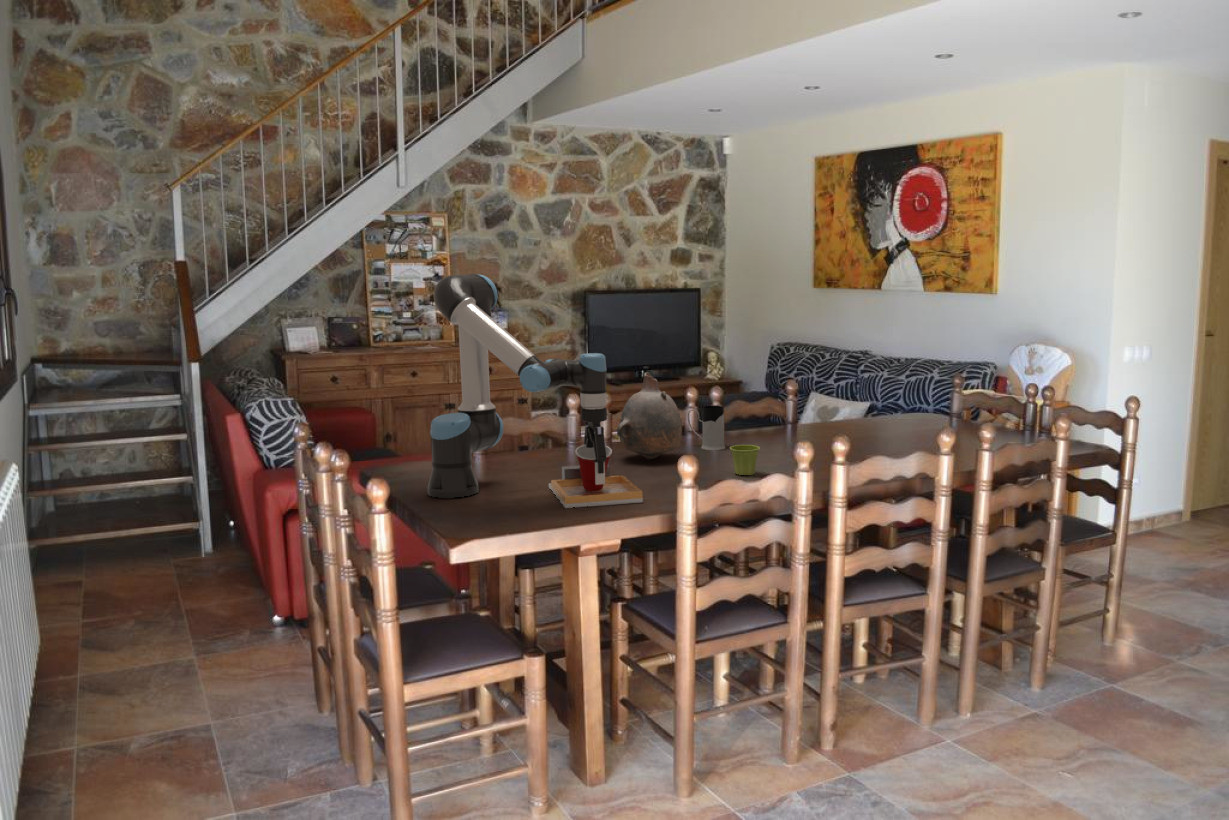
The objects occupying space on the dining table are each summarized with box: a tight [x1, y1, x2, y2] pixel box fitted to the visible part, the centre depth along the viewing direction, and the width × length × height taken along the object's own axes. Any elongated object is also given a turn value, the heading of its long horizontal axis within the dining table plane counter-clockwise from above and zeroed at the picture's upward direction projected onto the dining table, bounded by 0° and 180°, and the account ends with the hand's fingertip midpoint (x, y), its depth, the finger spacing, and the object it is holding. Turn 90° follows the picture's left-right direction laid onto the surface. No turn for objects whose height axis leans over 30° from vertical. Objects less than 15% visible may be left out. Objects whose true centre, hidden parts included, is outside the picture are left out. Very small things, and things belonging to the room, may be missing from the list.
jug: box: [616, 372, 683, 460], centre depth 345 cm, size 24×21×30 cm
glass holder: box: [687, 405, 726, 451], centre depth 366 cm, size 9×14×15 cm, turn 65°
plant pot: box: [729, 444, 761, 476], centre depth 321 cm, size 9×9×9 cm
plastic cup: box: [574, 444, 613, 491], centre depth 296 cm, size 11×11×12 cm
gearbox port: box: [548, 464, 644, 509], centre depth 297 cm, size 22×27×6 cm
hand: (595, 479), depth 294 cm, fingers open, 13 cm apart
